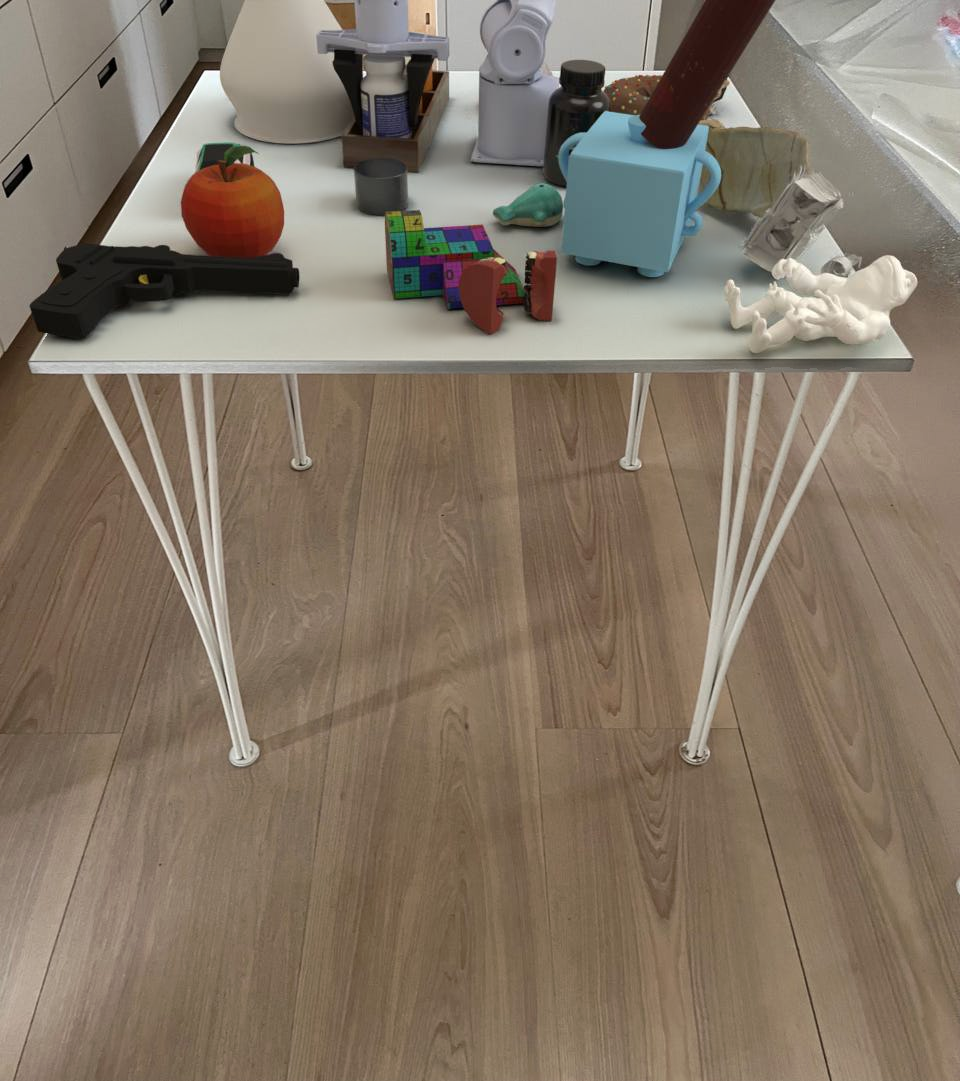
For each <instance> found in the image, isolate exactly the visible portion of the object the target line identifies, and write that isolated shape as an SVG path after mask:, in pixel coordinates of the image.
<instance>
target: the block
mask: <svg viewBox="0 0 960 1081" xmlns="http://www.w3.org/2000/svg"><path fill="white" fill-rule="evenodd" d="M384 239H385V260H386V272H387V273H386V274H387V276H388V281H389V284H390V288H391V292H392V296H393V299H395V300H396V299H408V298H420V297H422V298H423V297H433V296H443V297H444V302H445V305H446V307H447V309H448V310H449V309H464V308H463V305H462V303H461V299H460V296H459V288H458V285H459V279H460V276H461V274H462V272H463V271H464V270H465V269H466V268H467V267H469V266H470V265H473V264H475V263H477V262H478V261H480V260H482V259H487V258H490V257H493V258H494V259H495V258H501V259H505V258H504V257H503V256H502V255H501V254H500V253H498V251H497V250H496V249H494V247H493V244H492V242H491V240H490V237H489V235H488V233H487V231H486V228H485V226H484V224H483V223H481V224H469V225H454V226H453V225H452V226H438V227H435V226H434V227H425V224H424V219H423V214H422V212H421V209H412V210H404V211H394V212H385V215H384ZM505 261H506V263H505V267H506V268H505V269H506V272H505V277H504V278H503V280H502V281H501V283H500V285H499V288H498V291H497V296H496V306H501V305H503V306H504V305H516V304H524V300H525V299H524V294H525V292H526V291H525V289H524V284H523V283H522V281H521V279H520V276H519V274H518V271H517V270H516V268H515V267H514V266H513V265H512V264H510V263H509V262H508V261H507V260H506V259H505Z"/></svg>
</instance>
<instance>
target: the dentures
mask: <svg viewBox="0 0 960 1081" xmlns="http://www.w3.org/2000/svg"><path fill="white" fill-rule="evenodd" d="M525 258H526V259H525V265H524V285H523V287H524V289H525V294H524V299H525V300H524V303H523V307H524V308H523V310H524V312H525V313H526V314H531V315H532V317H533V318H535V319H537V320H538V321H540V322H542V321H543V322H544V321H545V322H548V321H549V322H550V321H551V322H552V321H553V311H554V310H553V308H554V299H555V290H556V289H555V287H556V277H557V265H558V255H557V252H556V251H555V250H546V251H538V250H533V251H529V252H527V253H526V256H525ZM505 260H506V259H505V258H504V259H501V258H495V259H494V258H493V257H490V258H487V259H482V260H480V261H478V262H477V263H475V264H473V265H470V266H469V267H467V268H466V269H465V270H464V271H463V272H462V274H461V276H460V279H459V285H458V288H459V296H460V299H461V303H462V305H463V308H462V309H463V310H464V311H465V313H466V314H467V317H469V319H470V320H471V321H472V322H473V323H474V325H476V326H477V327H478V328H479V329H481V330H482V331H483V332H485V333H487V334H489V335H492V334H494V333H496V332H498V331H499V330H500V328H501V326H502V325H503V324H502V323H503V322H504V312H503V311H501V310H500V309H499V308H498V307H497V305H496V296H497V291H498V288H499V285H500V283H501V281H502V280H503V278H504V277H505V272H506V269H505V268H506V267H505V263H506V261H507V260H506V261H505Z"/></svg>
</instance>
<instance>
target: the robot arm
mask: <svg viewBox="0 0 960 1081" xmlns="http://www.w3.org/2000/svg"><path fill="white" fill-rule="evenodd" d="M556 4H557V0H495V1H494V2H493V3H492V4H490V5H489V6H488V8H487V9H486V10H485V11H484V13H483V15H482V17H481V20H480V24H479V36H480V41H481V43H482V45H483V47H484V49H485V50H486V52H487V55H486V56H485V58H484V61H483V62H482V64H480V66H479V68H478V115H477V116H478V121H477V122H478V123H477V125H478V126H477V131H478V132H477V138H476V141H475V144H474V148H473V150H472V153H471V157H470V162H473V163H482V164H500V165H515V166H530V167H543V164H544V150H545V138H546V126H547V114H548V103H549V98H550V96H551V94H552V93H553V92H554V91H555V90H556V89H558V88H559V87H560V84H559V77H558V76H554V77H552V76H547V75H544V74H542V68H541V66H542V63H543V61H544V62H545V57H546V50H547V48H546V47H547V37H548V36H547V35H548V33H549V31H550V29H551V28H552V27H551V26H552V24H553V22H554V16H555V12H556V11H555V10H556ZM354 13H355V29H354V28H353V29H342V30H320V31H319V32H318V34H317V35H316V39H317V50H318V54H327V53H328V52H334V60H333V62H332V63H333V67H334V70H335V72H336V73H337V75H338V76H339V78H340V80H341V82H342V84H343V86H344V88H345V90H346V92H347V95H348V97H349V100H350V103H351V106H352V109H353V112H354V116H355V121H356V123H358V124H362V107H361V92H360V84H361V81H362V79H363V78H364V64H363V58H364V55H367V54H368V55H386V56H403V57H411V59H410V60H409V62H408V63H407V65H406V71H407V78H408V89H409V127H416V124H417V122H418V114H419V107H420V102H421V97H422V93H423V90H424V86H425V83H426V80H427V77H428V75H429V72H430V69H431V67H432V68H433V65H434V62H435V59H437V61H442V62H447V61H448V59H449V57H450V36H439V35H433V34H429V35H427V34H428V33H426V34H421V33H415V32H409V31H410V30H409V0H354Z"/></svg>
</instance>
